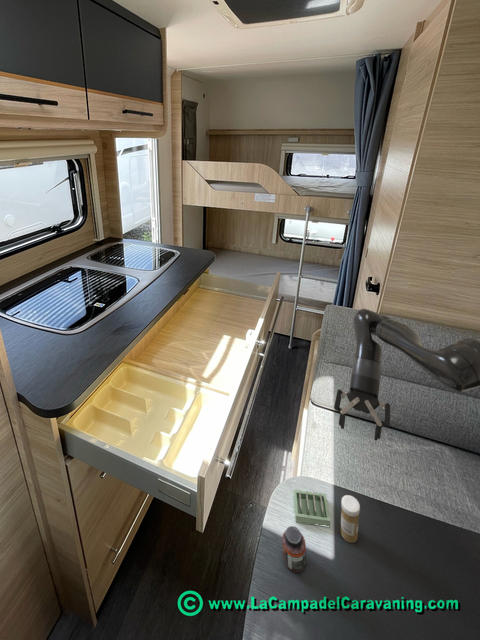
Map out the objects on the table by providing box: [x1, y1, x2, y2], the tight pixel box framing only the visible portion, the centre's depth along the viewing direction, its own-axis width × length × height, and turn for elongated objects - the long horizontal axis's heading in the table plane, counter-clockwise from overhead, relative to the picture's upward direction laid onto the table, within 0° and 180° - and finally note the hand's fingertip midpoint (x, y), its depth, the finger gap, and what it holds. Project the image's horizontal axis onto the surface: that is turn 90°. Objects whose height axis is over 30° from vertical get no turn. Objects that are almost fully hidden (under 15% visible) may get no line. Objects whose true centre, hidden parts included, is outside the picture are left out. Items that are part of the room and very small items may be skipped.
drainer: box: [293, 489, 331, 528], centre depth 98 cm, size 10×8×3 cm
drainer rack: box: [299, 489, 324, 517], centre depth 98 cm, size 6×5×4 cm
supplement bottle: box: [281, 525, 307, 573], centre depth 86 cm, size 6×6×11 cm
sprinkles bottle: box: [340, 494, 361, 544], centre depth 90 cm, size 5×5×14 cm
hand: (358, 434), depth 92 cm, fingers open, 8 cm apart
